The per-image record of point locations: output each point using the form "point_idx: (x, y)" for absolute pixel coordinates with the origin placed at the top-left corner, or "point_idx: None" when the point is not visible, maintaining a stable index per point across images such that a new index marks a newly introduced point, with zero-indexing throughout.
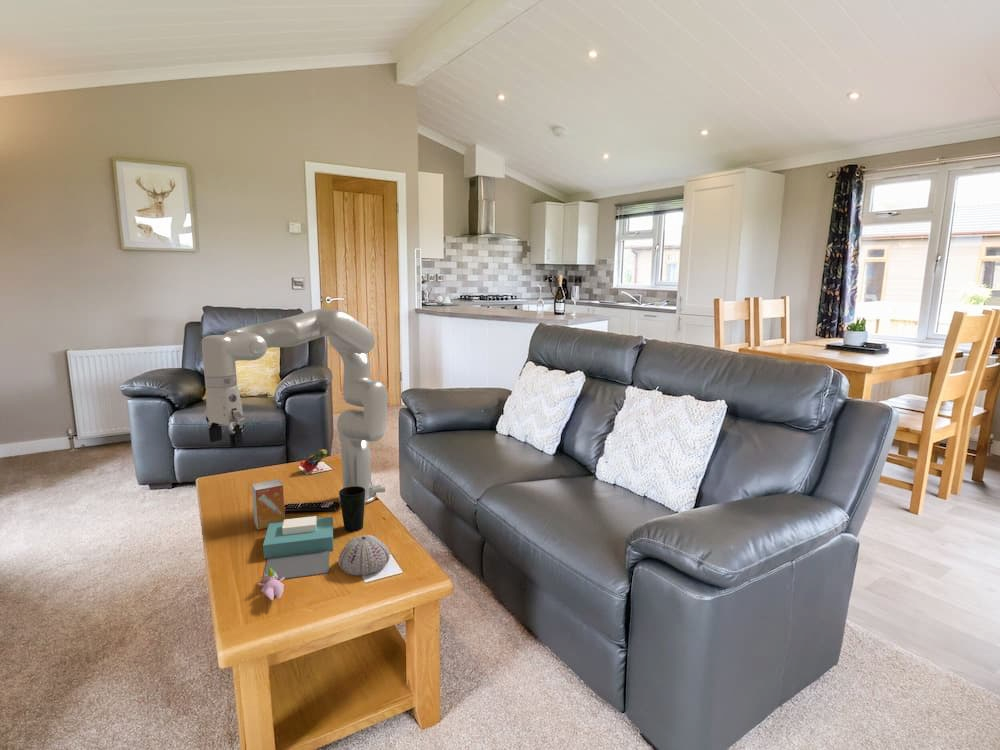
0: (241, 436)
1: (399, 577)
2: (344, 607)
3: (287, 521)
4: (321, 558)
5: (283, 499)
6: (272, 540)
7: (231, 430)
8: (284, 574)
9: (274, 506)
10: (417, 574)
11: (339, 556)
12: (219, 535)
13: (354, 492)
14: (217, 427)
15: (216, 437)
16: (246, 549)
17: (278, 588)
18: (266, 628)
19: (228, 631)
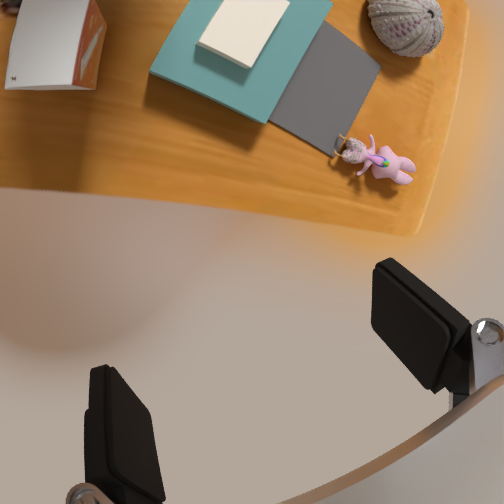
0: (436, 300)
1: None
2: (447, 109)
3: (218, 39)
4: (335, 43)
5: (98, 8)
6: (257, 98)
7: (463, 398)
8: (340, 119)
9: (95, 37)
10: (447, 3)
11: (397, 46)
12: (65, 175)
13: None
14: (134, 483)
15: (135, 414)
16: (181, 137)
17: (407, 166)
18: (419, 195)
19: (395, 230)
